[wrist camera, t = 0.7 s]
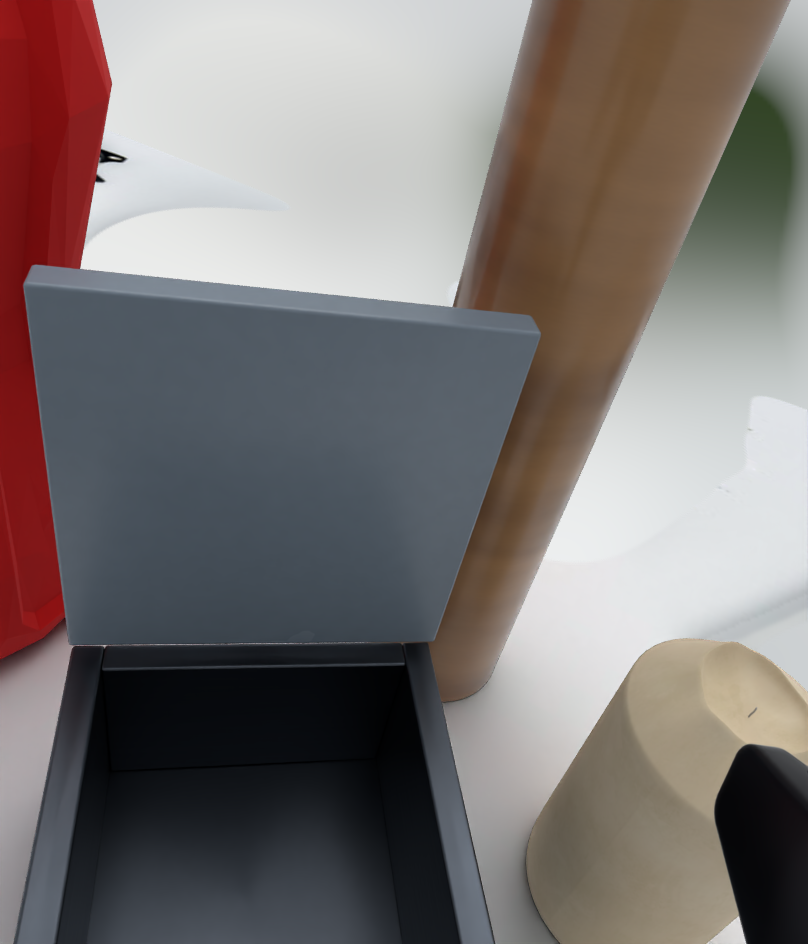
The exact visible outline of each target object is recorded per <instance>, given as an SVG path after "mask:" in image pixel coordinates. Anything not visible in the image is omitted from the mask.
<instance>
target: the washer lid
mask: <svg viewBox="0 0 808 944" xmlns="http://www.w3.org/2000/svg"><path fill="white" fill-rule="evenodd" d="M23 288H24V296H25V304H26V312H27V320H28V328H29V335H30V343H31V351H32V359H33V367H34V375H35V383H36V391H37V398H38V406H39V414H40V422H41V430H42V438H43V446H44V453H45V461H46V469H47V477H48V485H49V493H50V501H51V509H52V516H53V524H54V532H55V540H56V548H57V556H58V564H59V572H60V579H61V587H62V595H63V603H64V611H65V619H66V627H67V634H68V642H69V644H70V645H134V644H236V643H338V642H432V641H434V640H435V637H436V634H437V631H438V629H439V626H440V623H441V620H442V617H443V614H444V611H445V609H446V606H447V603H448V600H449V597H450V594H451V591H452V589H453V586H454V583H455V580H456V577H457V574H458V571H459V569H460V566H461V563H462V560H463V557H464V554H465V551H466V548H467V546H468V543H469V540H470V537H471V534H472V531H473V528H474V526H475V523H476V520H477V517H478V514H479V511H480V508H481V506H482V503H483V500H484V497H485V494H486V491H487V488H488V486H489V483H490V480H491V477H492V474H493V471H494V468H495V466H496V463H497V460H498V457H499V454H500V451H501V448H502V445H503V443H504V440H505V437H506V434H507V431H508V428H509V425H510V423H511V420H512V417H513V414H514V411H515V408H516V405H517V403H518V400H519V397H520V394H521V391H522V388H523V385H524V383H525V380H526V377H527V374H528V371H529V368H530V365H531V363H532V360H533V357H534V354H535V351H536V348H537V345H538V342H539V340H540V337H541V332H540V330H539V329H538V327H537V325H536V323H535V321H534V320H533V318H532V317H531V316H530V315H523V314H514V313H504V312H494V311H484V310H475V309H465V308H455V307H445V306H435V305H426V304H415V303H406V302H396V301H386V300H377V299H367V298H357V297H348V296H338V295H328V294H318V293H309V292H299V291H289V290H279V289H269V288H260V287H250V286H240V285H230V284H221V283H210V282H201V281H191V280H182V279H172V278H161V277H152V276H142V275H132V274H122V273H113V272H103V271H93V270H84V269H74V268H64V267H55V266H45V265H32V266H31V269H30V271H29V273H28V275H27V277H26V280H25V282H24V284H23Z"/></svg>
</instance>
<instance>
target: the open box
mask: <svg viewBox="0 0 808 944" xmlns="http://www.w3.org/2000/svg"><path fill="white" fill-rule="evenodd" d="M13 944H495V940H494V936H493V931H492V927H491V922H490V918H489V913H488V909H487V904H486V900H485V895H484V891H483V886H482V882H481V877H480V873H479V868H478V864H477V859H476V855H475V850H474V846H473V841H472V837H471V832H470V828H469V824H468V819H467V815H466V810H465V806H464V801H463V797H462V792H461V788H460V783H459V779H458V774H457V770H456V765H455V761H454V756H453V752H452V747H451V743H450V738H449V734H448V729H447V725H446V720H445V716H444V712H443V707H442V703H441V698H440V694H439V689H438V685H437V680H436V676H435V671H434V667H433V662H432V658H431V653H430V649H429V645H428V643H426V642H417V643H403V644H401V643H312V644H212V645H113V646H106V647H105V649H104V647H103V646H74V647H73V648H72V651H71V656H70V661H69V666H68V671H67V676H66V681H65V686H64V691H63V696H62V701H61V706H60V711H59V716H58V721H57V727H56V732H55V737H54V742H53V747H52V752H51V757H50V762H49V767H48V772H47V777H46V782H45V787H44V792H43V797H42V802H41V807H40V812H39V817H38V822H37V827H36V832H35V837H34V842H33V847H32V852H31V857H30V862H29V867H28V872H27V877H26V882H25V888H24V893H23V898H22V903H21V908H20V913H19V918H18V923H17V928H16V933H15V938H14V943H13Z"/></svg>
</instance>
